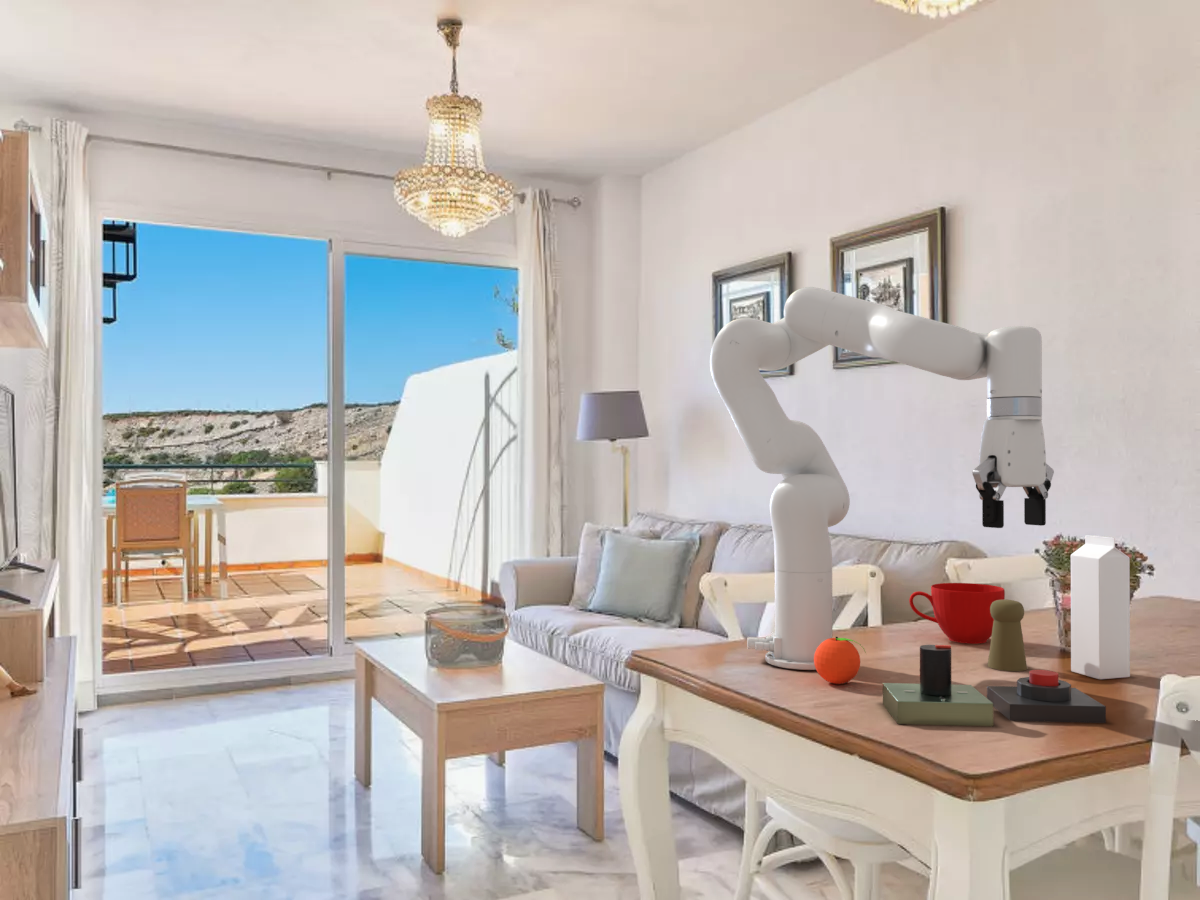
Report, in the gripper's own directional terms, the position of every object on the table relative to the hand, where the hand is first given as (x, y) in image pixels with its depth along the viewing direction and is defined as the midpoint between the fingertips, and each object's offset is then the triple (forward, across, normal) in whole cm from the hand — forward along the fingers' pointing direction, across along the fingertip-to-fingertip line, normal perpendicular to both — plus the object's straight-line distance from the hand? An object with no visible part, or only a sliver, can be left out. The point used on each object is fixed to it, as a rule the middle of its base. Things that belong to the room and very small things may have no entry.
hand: (1014, 526), depth 142 cm
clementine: (+25, +19, -16) cm, 35 cm away
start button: (+21, +7, +10) cm, 24 cm away
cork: (+24, -13, -11) cm, 30 cm away
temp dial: (+21, +21, +3) cm, 30 cm away
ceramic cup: (+25, -25, -30) cm, 46 cm away
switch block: (+24, +7, +10) cm, 27 cm away
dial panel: (+24, +21, +3) cm, 32 cm away
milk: (+24, -21, 0) cm, 32 cm away
